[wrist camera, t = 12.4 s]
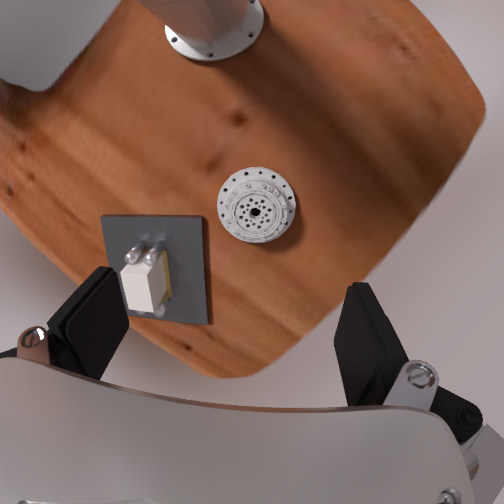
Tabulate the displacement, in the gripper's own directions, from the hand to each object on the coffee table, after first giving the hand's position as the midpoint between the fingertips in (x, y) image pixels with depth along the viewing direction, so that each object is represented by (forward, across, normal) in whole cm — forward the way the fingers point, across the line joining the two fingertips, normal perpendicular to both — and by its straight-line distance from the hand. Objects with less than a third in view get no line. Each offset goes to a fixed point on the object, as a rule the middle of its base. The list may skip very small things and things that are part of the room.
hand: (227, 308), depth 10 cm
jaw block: (+25, +15, +14) cm, 32 cm away
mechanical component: (+27, 0, +3) cm, 27 cm away
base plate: (+26, +15, +14) cm, 33 cm away
